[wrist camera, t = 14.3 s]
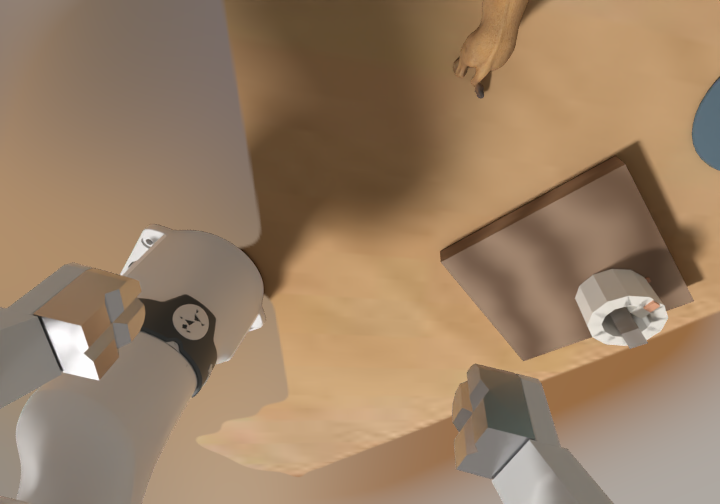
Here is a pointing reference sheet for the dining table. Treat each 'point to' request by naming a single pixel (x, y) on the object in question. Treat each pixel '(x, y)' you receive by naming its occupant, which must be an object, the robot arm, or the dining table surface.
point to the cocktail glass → (708, 127)
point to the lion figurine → (491, 40)
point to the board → (564, 260)
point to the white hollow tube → (619, 304)
